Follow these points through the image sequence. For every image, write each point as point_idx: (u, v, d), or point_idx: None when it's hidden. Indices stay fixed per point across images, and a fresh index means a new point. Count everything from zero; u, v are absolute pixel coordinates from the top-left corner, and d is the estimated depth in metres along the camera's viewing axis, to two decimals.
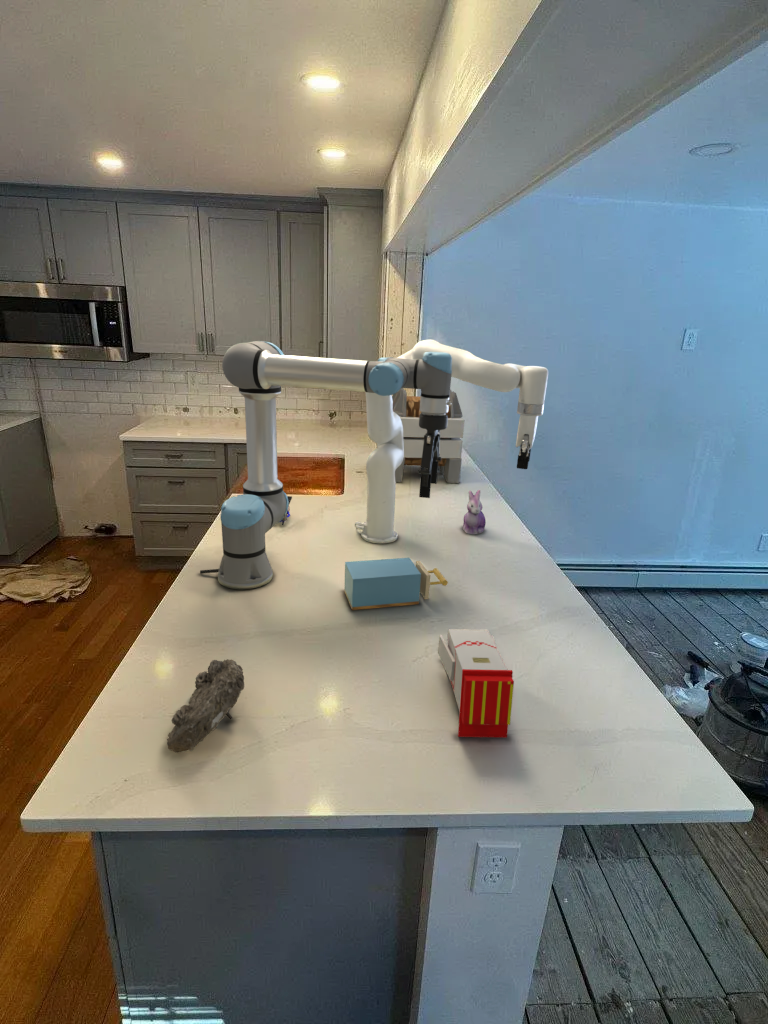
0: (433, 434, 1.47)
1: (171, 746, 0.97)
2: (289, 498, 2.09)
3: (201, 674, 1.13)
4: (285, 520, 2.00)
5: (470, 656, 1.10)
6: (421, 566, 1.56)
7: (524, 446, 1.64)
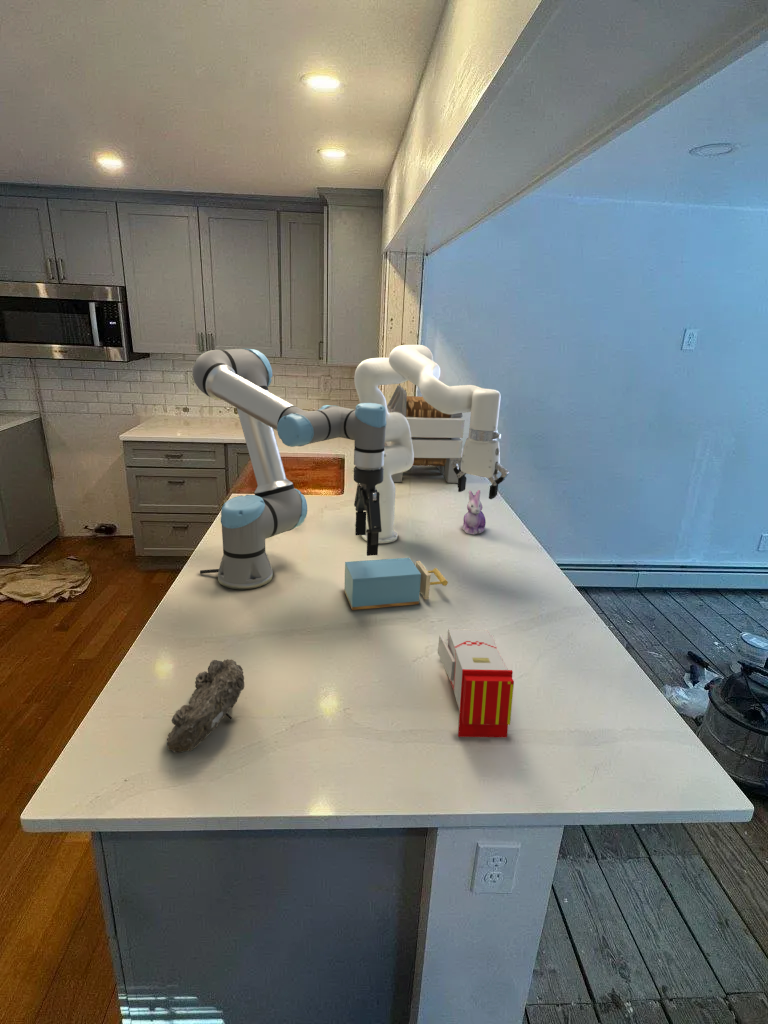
0: (374, 489, 1.40)
1: (171, 746, 0.97)
2: None
3: (201, 674, 1.13)
4: None
5: (470, 656, 1.10)
6: (421, 566, 1.56)
7: None
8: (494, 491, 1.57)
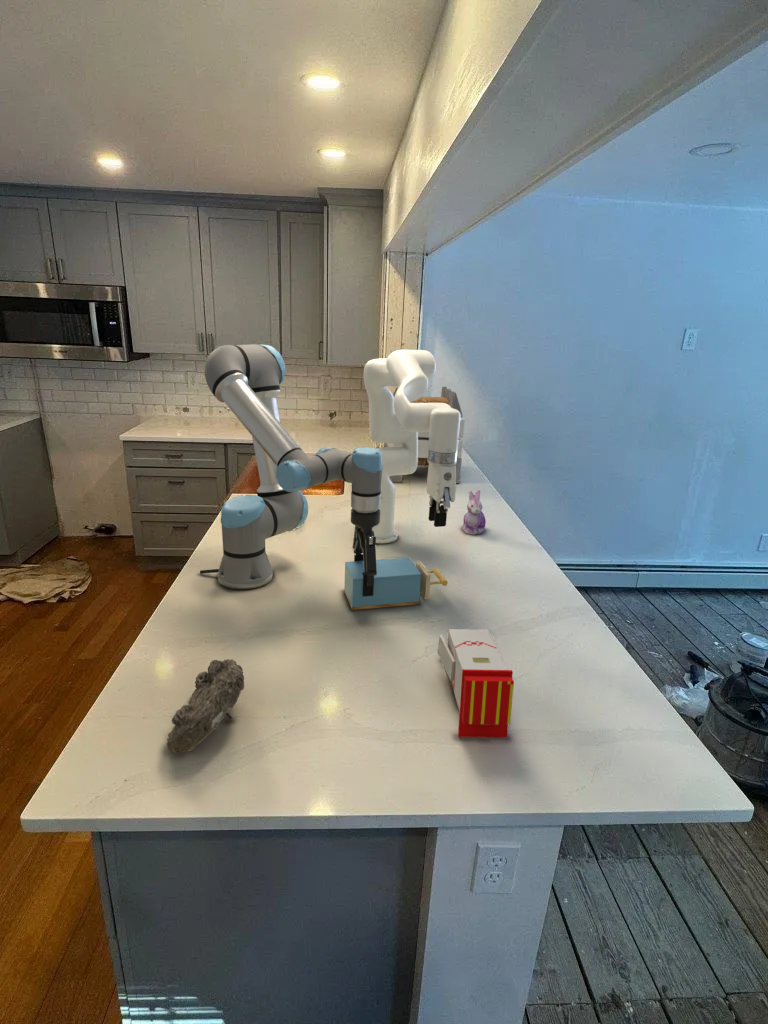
0: (371, 531, 1.44)
1: (171, 746, 0.97)
2: None
3: (201, 674, 1.13)
4: None
5: (470, 656, 1.10)
6: (421, 566, 1.56)
7: None
8: (438, 519, 1.48)
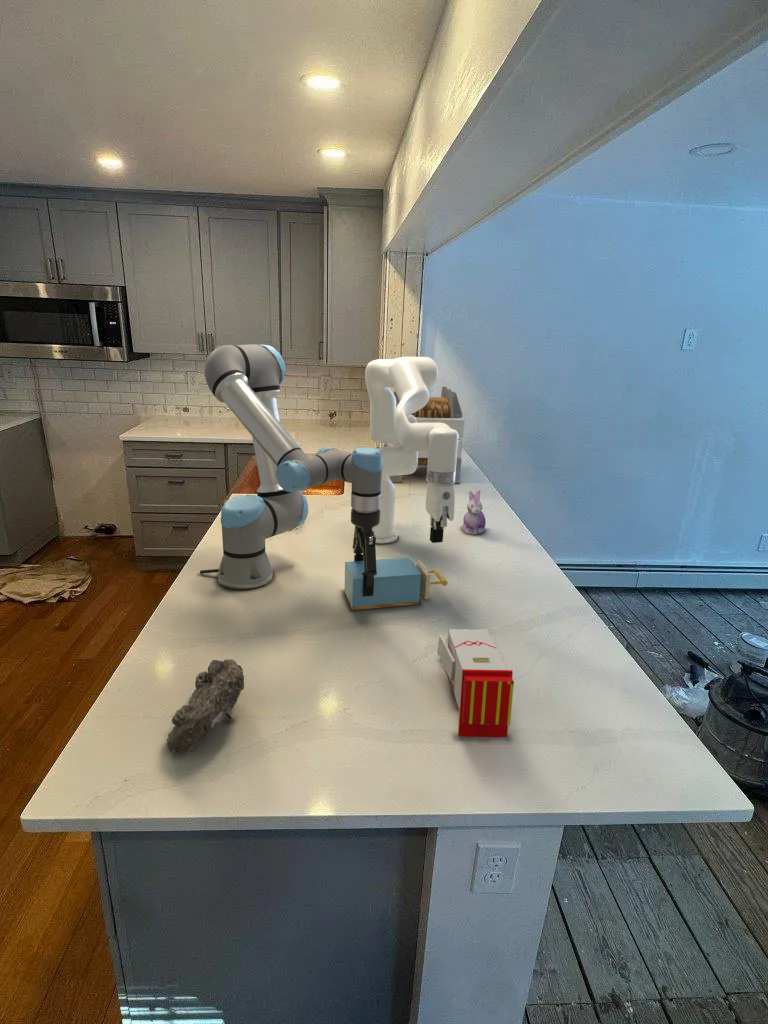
0: (371, 531, 1.44)
1: (171, 746, 0.97)
2: None
3: (201, 674, 1.13)
4: None
5: (470, 656, 1.10)
6: (421, 566, 1.56)
7: None
8: (435, 535, 1.51)
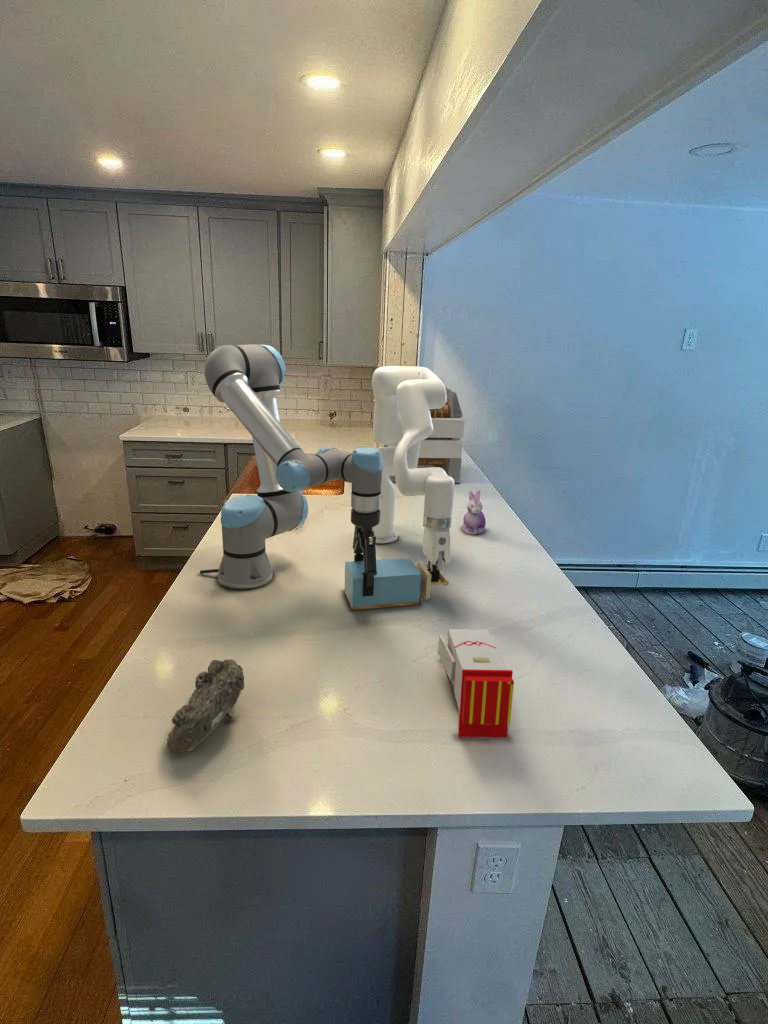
0: (371, 531, 1.44)
1: (171, 746, 0.97)
2: None
3: (201, 674, 1.13)
4: None
5: (470, 656, 1.10)
6: (422, 566, 1.56)
7: None
8: (431, 577, 1.56)
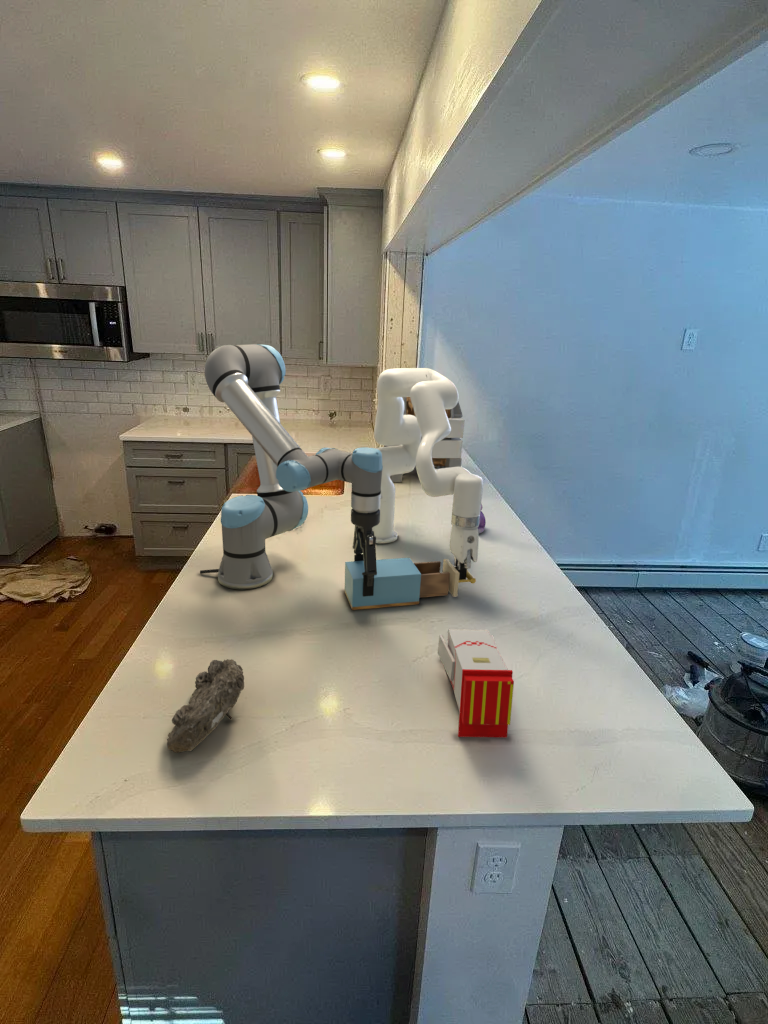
0: (371, 531, 1.44)
1: (171, 746, 0.97)
2: None
3: (201, 674, 1.13)
4: None
5: (470, 656, 1.10)
6: (449, 564, 1.58)
7: None
8: (459, 575, 1.58)
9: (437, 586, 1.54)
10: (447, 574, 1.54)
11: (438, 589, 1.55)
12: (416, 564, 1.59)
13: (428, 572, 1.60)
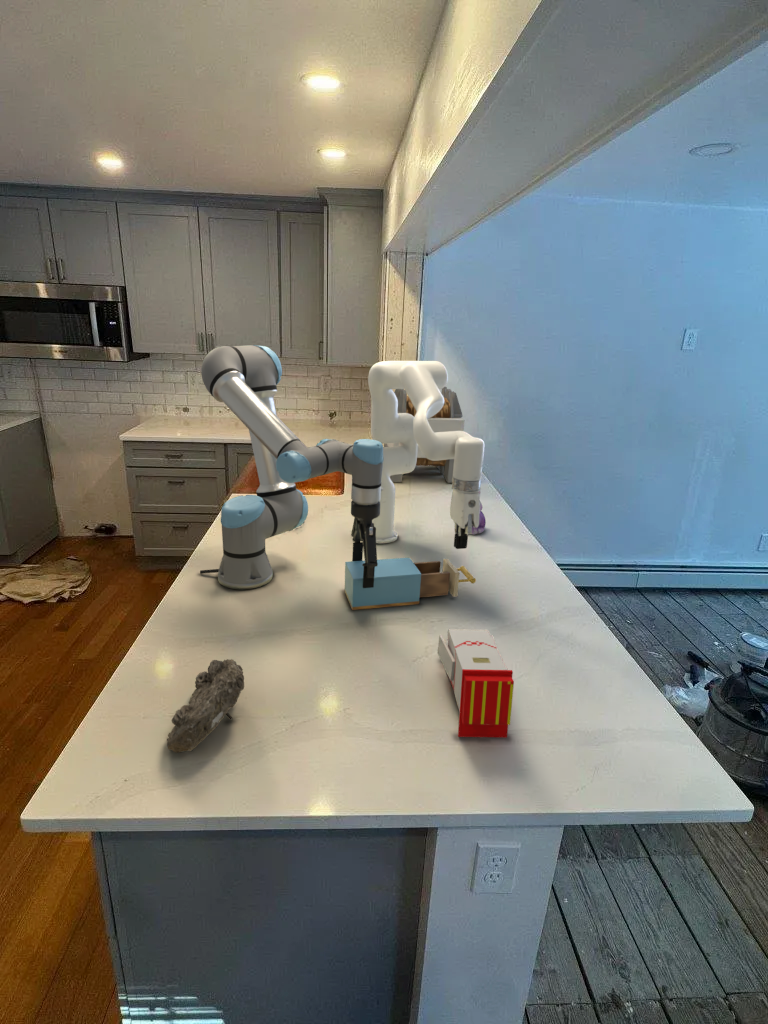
0: (371, 523, 1.43)
1: (171, 746, 0.97)
2: None
3: (201, 674, 1.13)
4: None
5: (470, 656, 1.10)
6: (449, 564, 1.59)
7: None
8: (460, 541, 1.54)
9: (437, 586, 1.54)
10: (447, 574, 1.54)
11: (438, 589, 1.55)
12: (416, 564, 1.59)
13: (428, 572, 1.60)
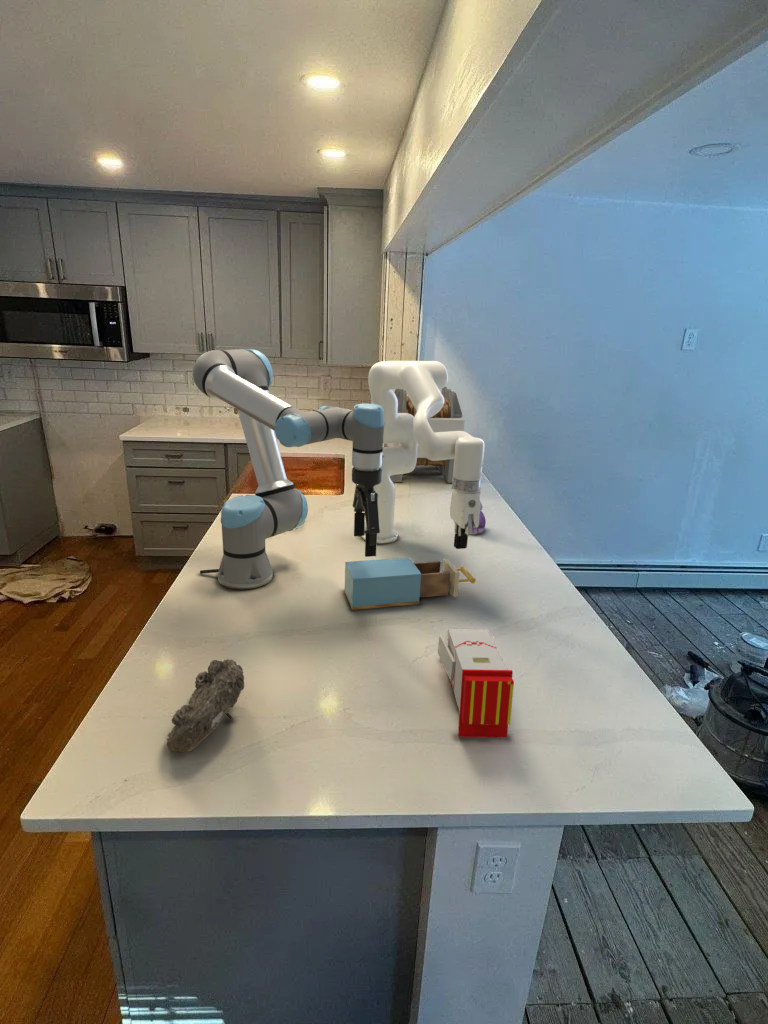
0: (372, 490, 1.40)
1: (171, 746, 0.97)
2: None
3: (201, 674, 1.13)
4: None
5: (470, 656, 1.10)
6: (449, 564, 1.59)
7: None
8: (460, 541, 1.54)
9: (437, 586, 1.54)
10: (447, 574, 1.54)
11: (438, 589, 1.55)
12: (416, 564, 1.59)
13: (428, 572, 1.60)
